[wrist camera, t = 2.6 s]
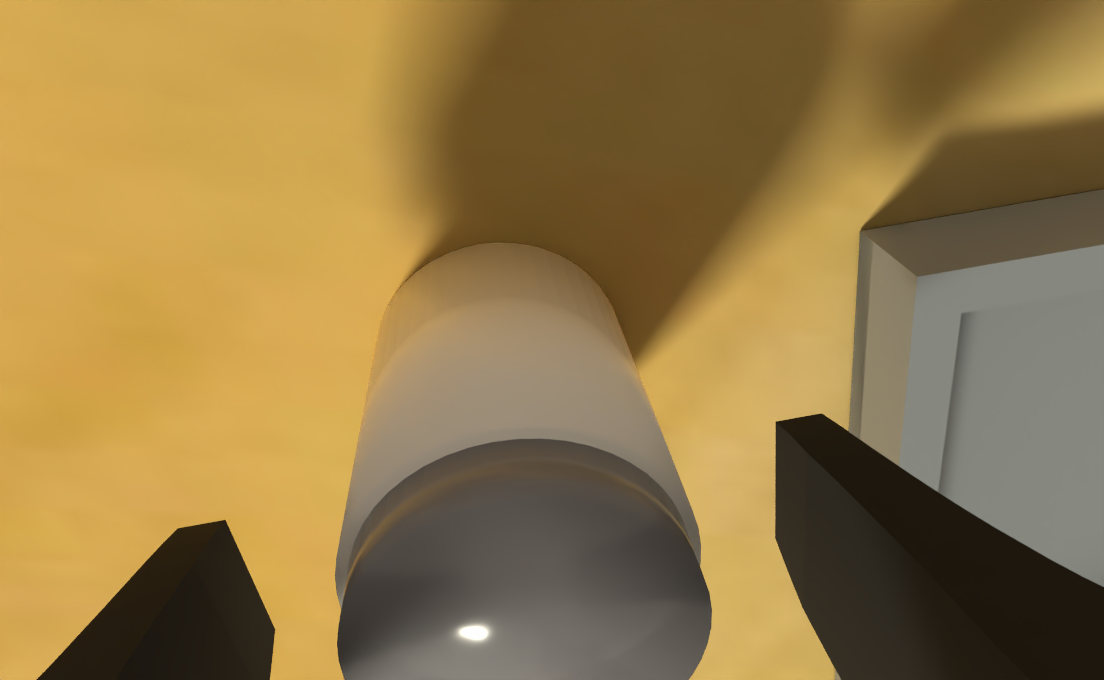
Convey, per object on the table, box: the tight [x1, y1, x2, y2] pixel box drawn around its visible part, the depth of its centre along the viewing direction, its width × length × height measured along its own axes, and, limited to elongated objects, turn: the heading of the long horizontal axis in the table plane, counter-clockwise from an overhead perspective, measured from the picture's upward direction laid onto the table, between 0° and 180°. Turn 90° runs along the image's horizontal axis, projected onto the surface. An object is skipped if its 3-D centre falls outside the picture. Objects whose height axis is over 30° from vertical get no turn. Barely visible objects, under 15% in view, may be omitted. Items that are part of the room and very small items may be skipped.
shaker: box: [335, 242, 712, 680], centre depth 12 cm, size 4×4×6 cm
